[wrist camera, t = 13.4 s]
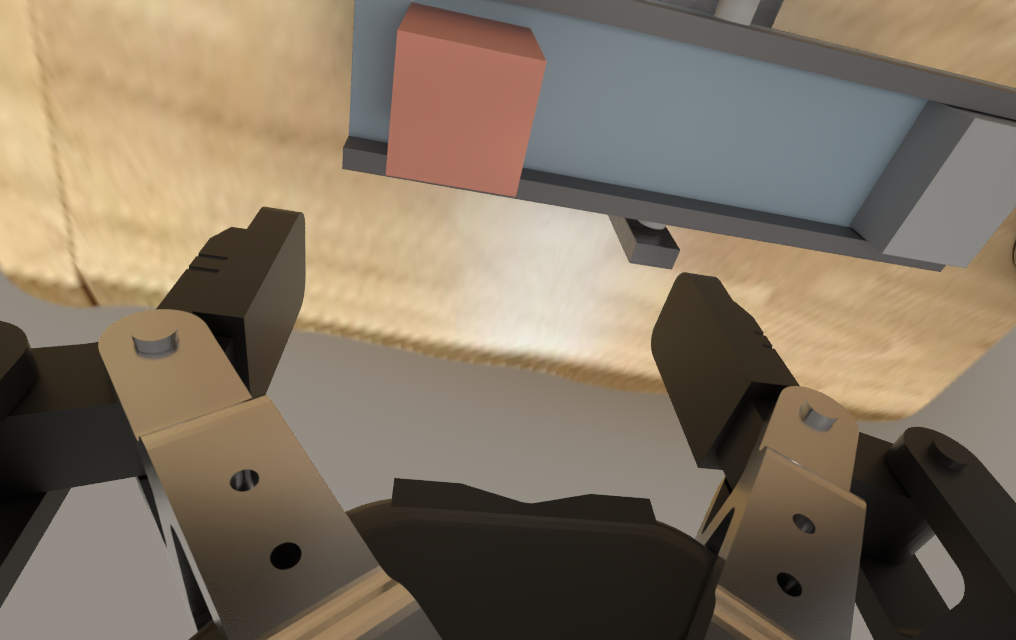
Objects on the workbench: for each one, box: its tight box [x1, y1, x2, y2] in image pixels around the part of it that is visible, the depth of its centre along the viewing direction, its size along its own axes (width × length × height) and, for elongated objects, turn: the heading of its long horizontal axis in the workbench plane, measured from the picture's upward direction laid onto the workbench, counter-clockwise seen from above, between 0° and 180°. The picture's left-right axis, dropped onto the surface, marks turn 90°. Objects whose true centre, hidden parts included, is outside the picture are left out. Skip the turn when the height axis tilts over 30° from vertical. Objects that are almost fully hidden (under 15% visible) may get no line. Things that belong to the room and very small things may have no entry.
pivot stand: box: [608, 0, 783, 269], centre depth 31 cm, size 14×18×13 cm
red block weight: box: [386, 2, 547, 197], centre depth 22 cm, size 5×5×6 cm
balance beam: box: [342, 0, 1016, 272], centre depth 26 cm, size 32×11×5 cm, turn 78°
